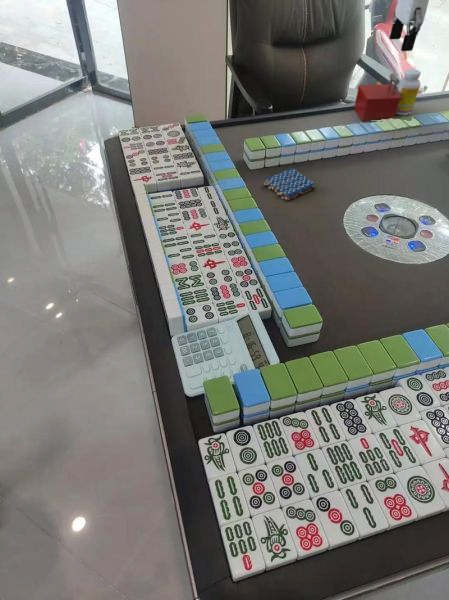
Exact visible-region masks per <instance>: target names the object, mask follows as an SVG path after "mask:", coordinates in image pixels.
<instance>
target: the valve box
mask: <svg viewBox="0 0 449 600" xmlns="http://www.w3.org/2000/svg"><path fill="white" fill-rule="evenodd" d="M398 103H399V100H395V101H366V99H365V97H364V96H363V94H362V93H361V91H360V89H359V87H358V88H357V93H356V98H355V102H354V106H355V108H354V107H353V109H354V110H355V112H356V114H357V116H358V117H359V119H360V121H361V122H362V123H367V122H366V121H371V120H381V119H389V118H394V119H395V116H396V114H395V113H396V110H397V106H398Z"/></svg>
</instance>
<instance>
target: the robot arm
mask: <svg viewBox="0 0 449 600" xmlns="http://www.w3.org/2000/svg"><path fill="white" fill-rule="evenodd" d="M428 6H429V0H397V1H396V3H395V11H394V12H393V13H394V14H393V15H394V18H393V20H392V26H391V30H390V34H389V36H388V37H389V40H400V39H401V37H402V34H403V30H404V27H405V26H406V34H404V36H403V40H402V44H401V48H400V51H401V52H411V51H413V49H414V47H415V42H416V40H417V36H418V35H419V32H420V31H421V27H422V26H423V24H424V21H425V18H426V14H427V11H428V10H427V9H428Z"/></svg>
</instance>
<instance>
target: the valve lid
mask: <svg viewBox="0 0 449 600" xmlns="http://www.w3.org/2000/svg"><path fill="white" fill-rule="evenodd" d="M399 82H400V79H399V78H398V76H397V75H396V74H395V73H394V72H391V73H390V74H389V83H388V84H362V85H360V84H359V85H358V88H359V89H360V91H361V93H362V94H363V96H364V97H365V99H366V101H395V100H402V97H401V95H400V94H399V93H398V91H397V88H398V84H399Z"/></svg>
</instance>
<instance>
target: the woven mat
mask: <svg viewBox="0 0 449 600" xmlns="http://www.w3.org/2000/svg"><path fill="white" fill-rule="evenodd" d="M316 185H317V184H316V183H315V182H314V181H313V180H310V178H309V177H308V178H307V177H306V176H305V175H303V174H302V173H300V172H299V171H298V170H296V169H294V168H288V169H286V170H283V171H281V172H279V173H277V174H276V173H275V174H274V175H270V176H269V177H265V179H264V182H263V186H268V190H273V191H274V192H275V193H276V194H277V195H278V196H281V199H282V200H285V201H290V200H292V199H295V198H296V197H298V196H299V195H300V196H301V195H304V194H306V193H308V192H311V191H312V190H314V189H316Z"/></svg>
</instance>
